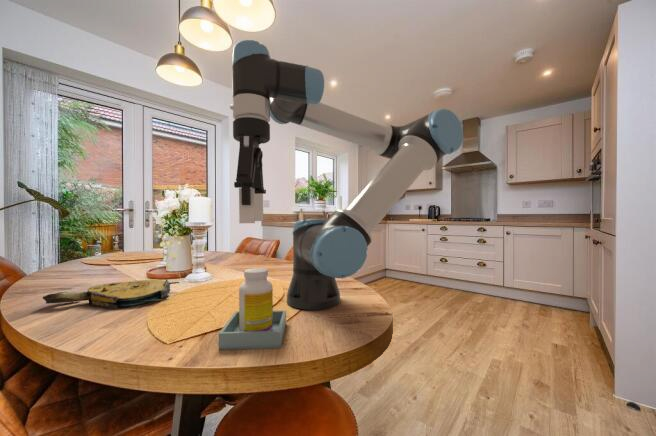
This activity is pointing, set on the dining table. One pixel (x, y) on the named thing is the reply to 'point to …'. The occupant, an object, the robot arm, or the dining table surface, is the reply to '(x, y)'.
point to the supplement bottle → (255, 301)
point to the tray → (252, 334)
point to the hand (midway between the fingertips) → (252, 222)
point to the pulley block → (117, 294)
